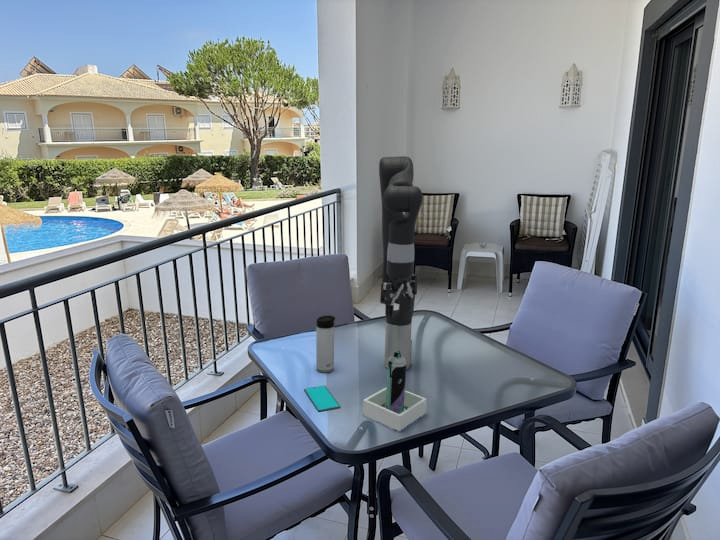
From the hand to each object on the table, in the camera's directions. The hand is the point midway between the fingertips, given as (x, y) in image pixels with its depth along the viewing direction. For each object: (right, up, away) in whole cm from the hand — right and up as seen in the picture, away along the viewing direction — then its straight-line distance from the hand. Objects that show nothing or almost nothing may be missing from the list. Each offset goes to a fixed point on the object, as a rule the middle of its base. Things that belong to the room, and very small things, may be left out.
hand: (398, 313), depth 144 cm
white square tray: (-1, -31, +8) cm, 32 cm away
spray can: (-1, -31, +8) cm, 32 cm away
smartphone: (-23, -29, +16) cm, 41 cm away
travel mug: (-23, -23, +37) cm, 50 cm away
